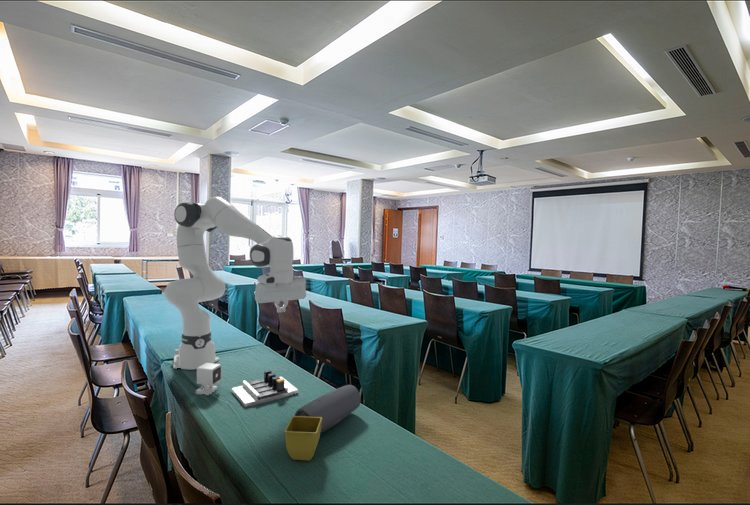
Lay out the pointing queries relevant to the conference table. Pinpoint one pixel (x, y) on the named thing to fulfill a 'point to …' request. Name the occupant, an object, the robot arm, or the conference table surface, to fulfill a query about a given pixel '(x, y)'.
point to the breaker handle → (280, 384)
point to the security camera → (208, 377)
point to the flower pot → (302, 436)
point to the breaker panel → (262, 390)
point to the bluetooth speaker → (332, 406)
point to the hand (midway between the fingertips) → (281, 312)
